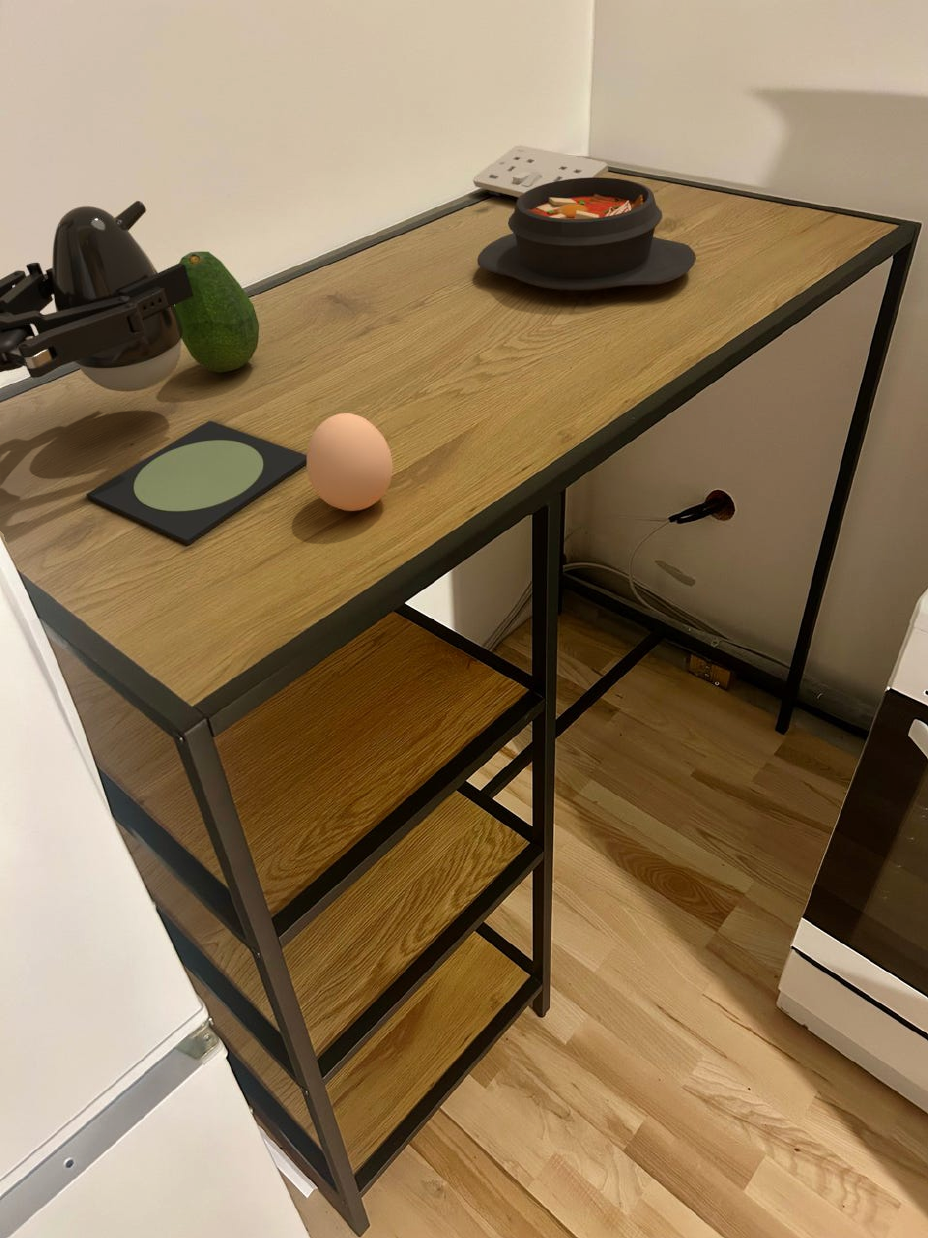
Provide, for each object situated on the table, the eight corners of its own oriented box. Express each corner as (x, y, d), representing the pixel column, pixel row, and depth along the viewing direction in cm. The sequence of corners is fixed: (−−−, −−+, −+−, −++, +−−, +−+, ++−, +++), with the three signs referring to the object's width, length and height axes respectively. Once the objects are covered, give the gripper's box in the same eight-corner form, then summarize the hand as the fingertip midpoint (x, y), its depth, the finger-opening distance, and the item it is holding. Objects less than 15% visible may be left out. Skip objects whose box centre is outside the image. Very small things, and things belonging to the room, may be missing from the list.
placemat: (88, 498, 78) (85, 492, 78) (211, 424, 86) (209, 419, 86) (188, 545, 72) (186, 539, 72) (311, 461, 80) (309, 455, 80)
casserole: (710, 251, 108) (718, 175, 103) (671, 316, 96) (677, 234, 90) (512, 237, 117) (509, 166, 111) (452, 295, 104) (446, 219, 99)
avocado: (176, 376, 95) (139, 259, 87) (232, 346, 99) (203, 231, 91) (228, 394, 91) (195, 273, 83) (285, 361, 95) (258, 243, 87)
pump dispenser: (216, 373, 85) (168, 201, 75) (112, 417, 80) (45, 239, 70) (164, 342, 91) (113, 178, 81) (64, 381, 86) (-3, 212, 76)
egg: (389, 529, 71) (375, 439, 66) (307, 528, 72) (286, 440, 67) (404, 481, 76) (392, 395, 71) (326, 481, 77) (309, 395, 72)
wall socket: (622, 179, 127) (619, 149, 124) (564, 231, 120) (560, 201, 117) (512, 172, 137) (508, 144, 134) (453, 220, 129) (447, 191, 127)
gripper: (-132, 387, 77) (88, 288, 90) (19, 456, 67) (244, 334, 79) (-180, 300, 72) (59, 209, 85) (-26, 360, 62) (222, 246, 74)
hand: (148, 269), depth 82 cm, fingers closed on pump dispenser, 9 cm apart
